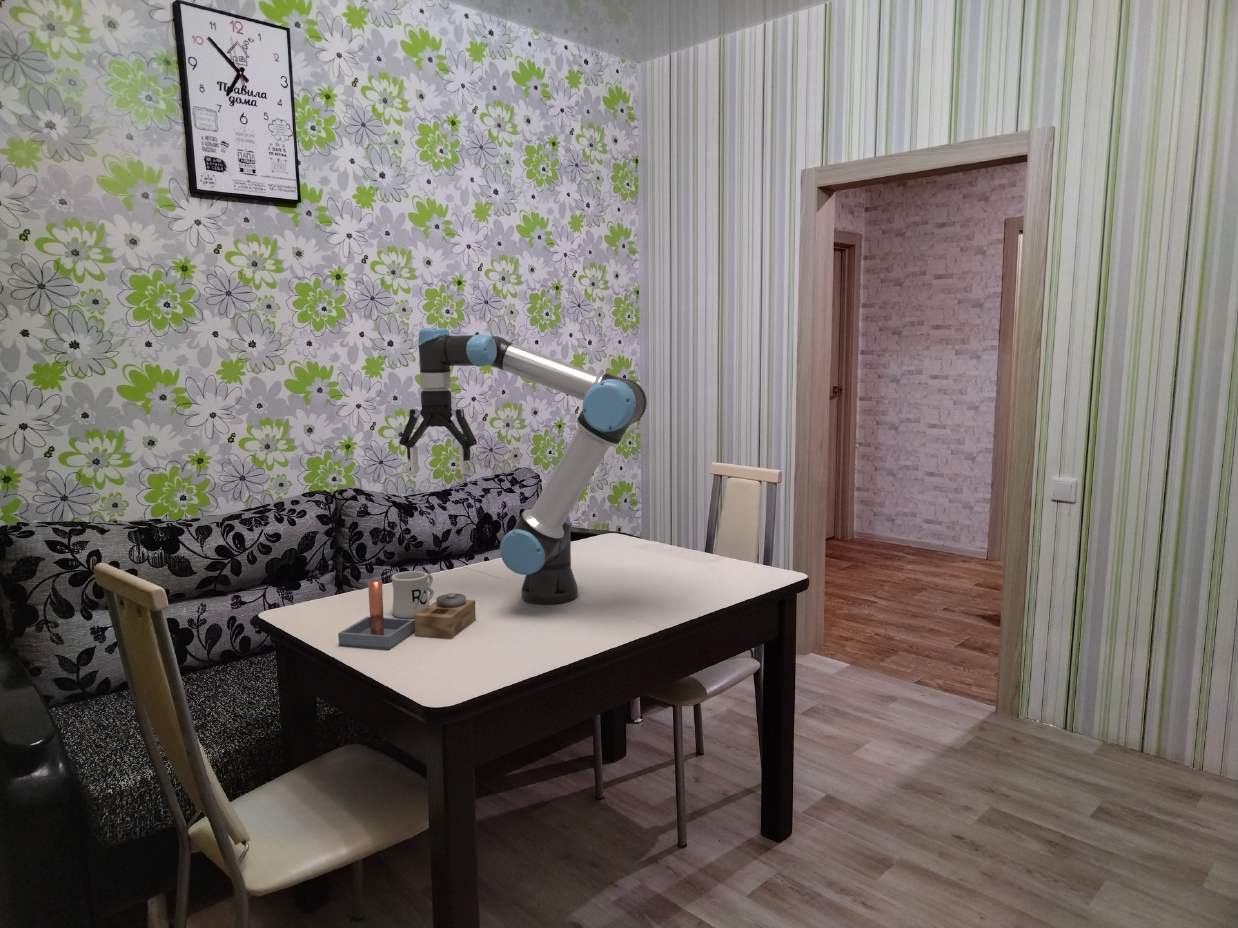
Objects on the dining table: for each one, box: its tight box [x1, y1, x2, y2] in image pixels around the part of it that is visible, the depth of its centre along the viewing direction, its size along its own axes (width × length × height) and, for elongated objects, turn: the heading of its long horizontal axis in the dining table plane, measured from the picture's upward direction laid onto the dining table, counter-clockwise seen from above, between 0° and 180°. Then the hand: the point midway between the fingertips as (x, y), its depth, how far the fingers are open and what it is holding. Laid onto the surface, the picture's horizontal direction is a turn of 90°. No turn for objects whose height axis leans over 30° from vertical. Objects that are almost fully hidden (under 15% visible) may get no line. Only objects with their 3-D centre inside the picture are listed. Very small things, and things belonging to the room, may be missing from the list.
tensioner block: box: [414, 592, 477, 640], centre depth 197 cm, size 9×14×7 cm, turn 167°
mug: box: [390, 570, 435, 619], centre depth 209 cm, size 12×9×10 cm
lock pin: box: [367, 579, 385, 635], centre depth 189 cm, size 3×3×13 cm
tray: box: [337, 615, 415, 651], centre depth 190 cm, size 12×12×3 cm
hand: (439, 473), depth 212 cm, fingers open, 13 cm apart
